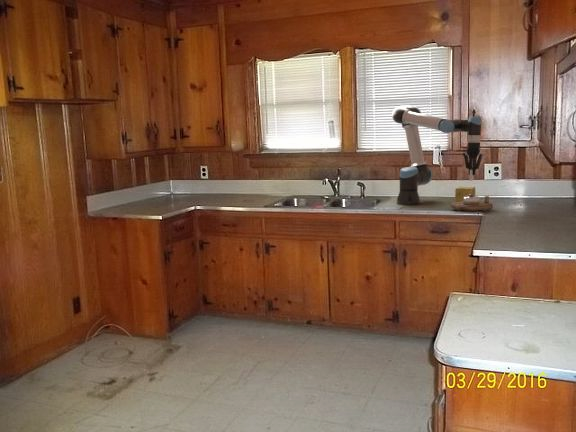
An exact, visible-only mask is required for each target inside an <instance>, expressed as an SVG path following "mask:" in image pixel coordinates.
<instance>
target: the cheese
mask: <svg viewBox="0 0 576 432" xmlns="http://www.w3.org/2000/svg"><path fill="white" fill-rule="evenodd" d="M454 192H455V193H454V202H462V201H464V196H469V194H474V196H476V186H458V187H456V188H455V191H454Z"/></svg>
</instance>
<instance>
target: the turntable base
mask: <svg viewBox="0 0 576 432" xmlns="http://www.w3.org/2000/svg"><path fill="white" fill-rule="evenodd" d="M460 210H461V209H458V211H460ZM484 211H485V210H461V211H460V212H465V213H479V212H481V213H482V212H484Z"/></svg>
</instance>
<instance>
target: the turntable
mask: <svg viewBox="0 0 576 432" xmlns="http://www.w3.org/2000/svg"><path fill="white" fill-rule="evenodd" d="M450 207H451V208H452V209H456V210H459V209H461V210H484V211H486V210H487V211H488V210H492V209H493V208H494V204H493V203H491V202H490V196H489V195H485V196H484V201H479V205H474V206H471V205H464V204H463V201H462V202H455V201H454V202H451V203H450Z"/></svg>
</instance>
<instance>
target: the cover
mask: <svg viewBox="0 0 576 432" xmlns="http://www.w3.org/2000/svg"><path fill="white" fill-rule="evenodd" d="M479 202H480V196H478V195H475V196H474V194H469V196H464V201H463V204H464V205H471V206H474V205H479Z"/></svg>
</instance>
